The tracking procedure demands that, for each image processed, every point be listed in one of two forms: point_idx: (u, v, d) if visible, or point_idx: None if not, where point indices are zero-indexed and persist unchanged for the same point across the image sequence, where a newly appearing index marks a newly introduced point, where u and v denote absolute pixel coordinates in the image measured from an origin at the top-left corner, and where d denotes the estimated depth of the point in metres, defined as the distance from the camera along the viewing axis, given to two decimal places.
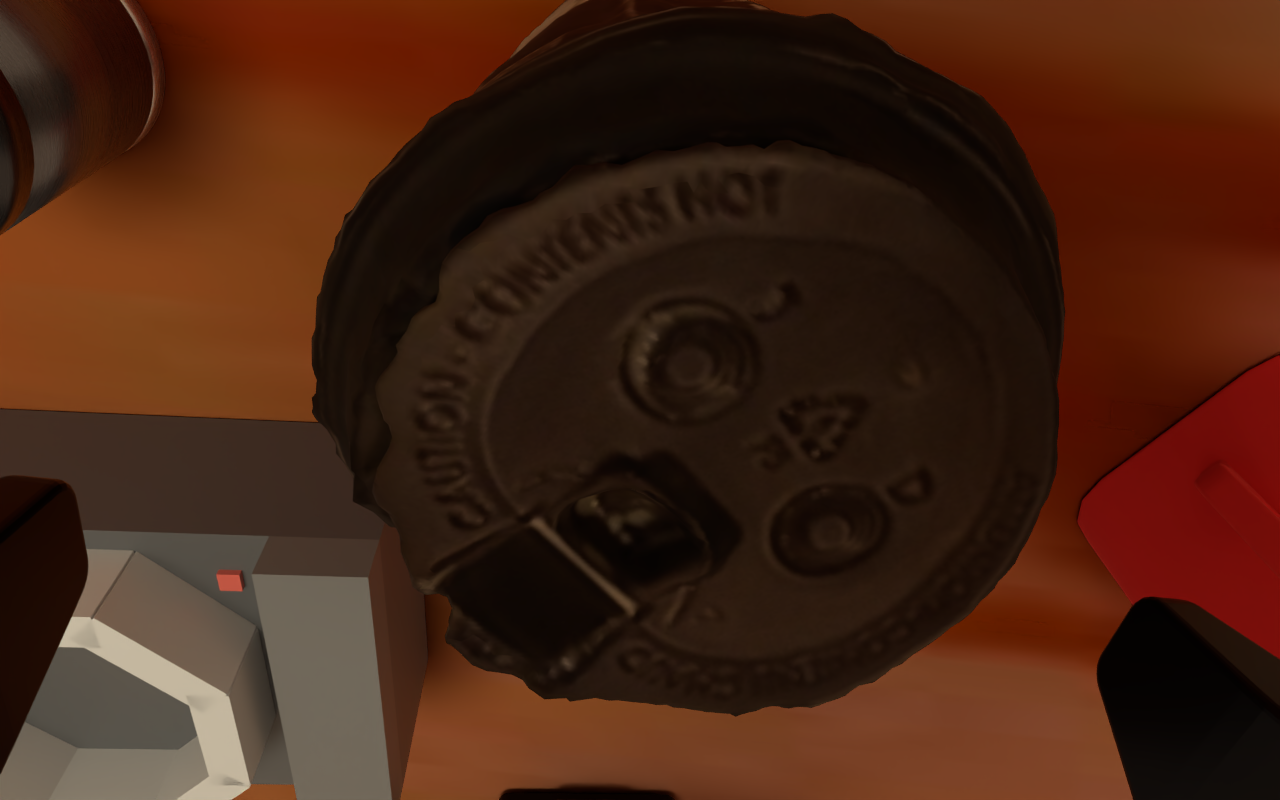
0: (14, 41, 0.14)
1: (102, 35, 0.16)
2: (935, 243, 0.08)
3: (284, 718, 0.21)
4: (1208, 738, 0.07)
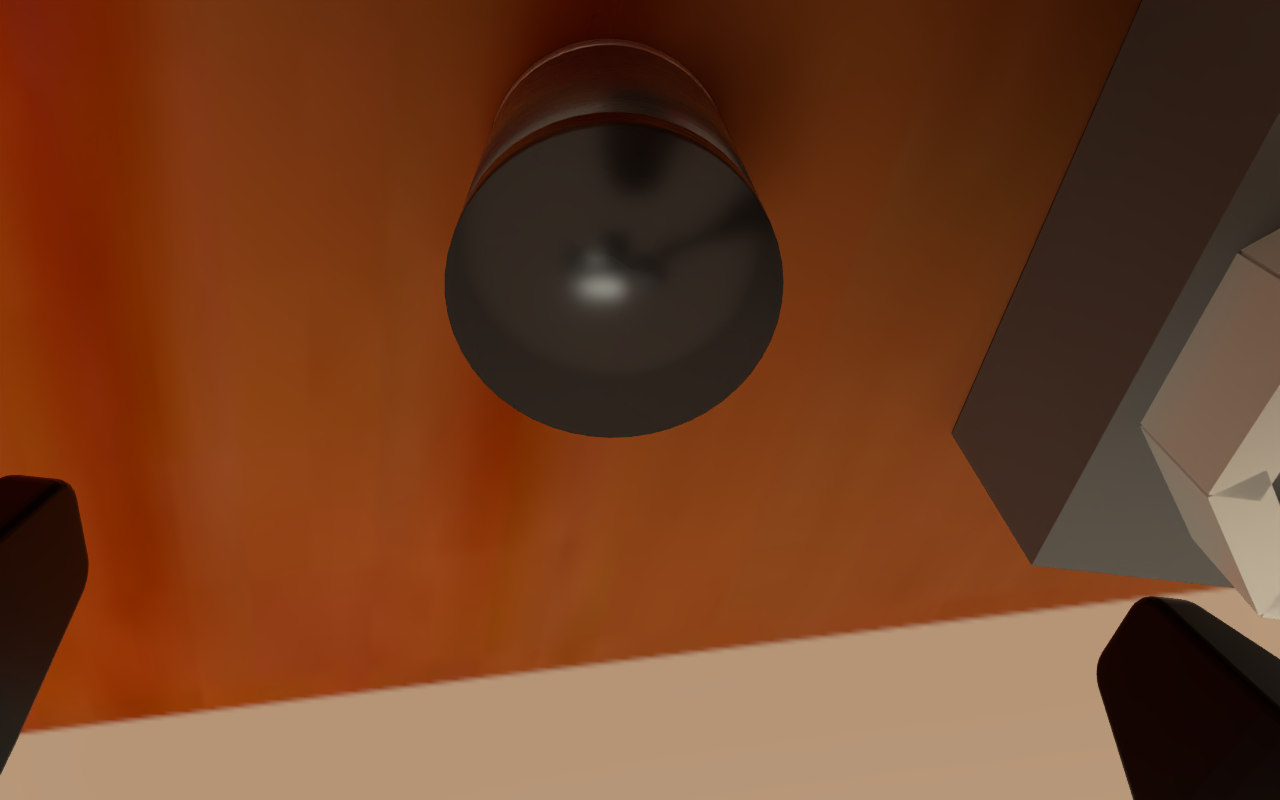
0: (555, 107, 0.12)
1: (582, 63, 0.14)
2: None
3: None
4: (1208, 738, 0.07)
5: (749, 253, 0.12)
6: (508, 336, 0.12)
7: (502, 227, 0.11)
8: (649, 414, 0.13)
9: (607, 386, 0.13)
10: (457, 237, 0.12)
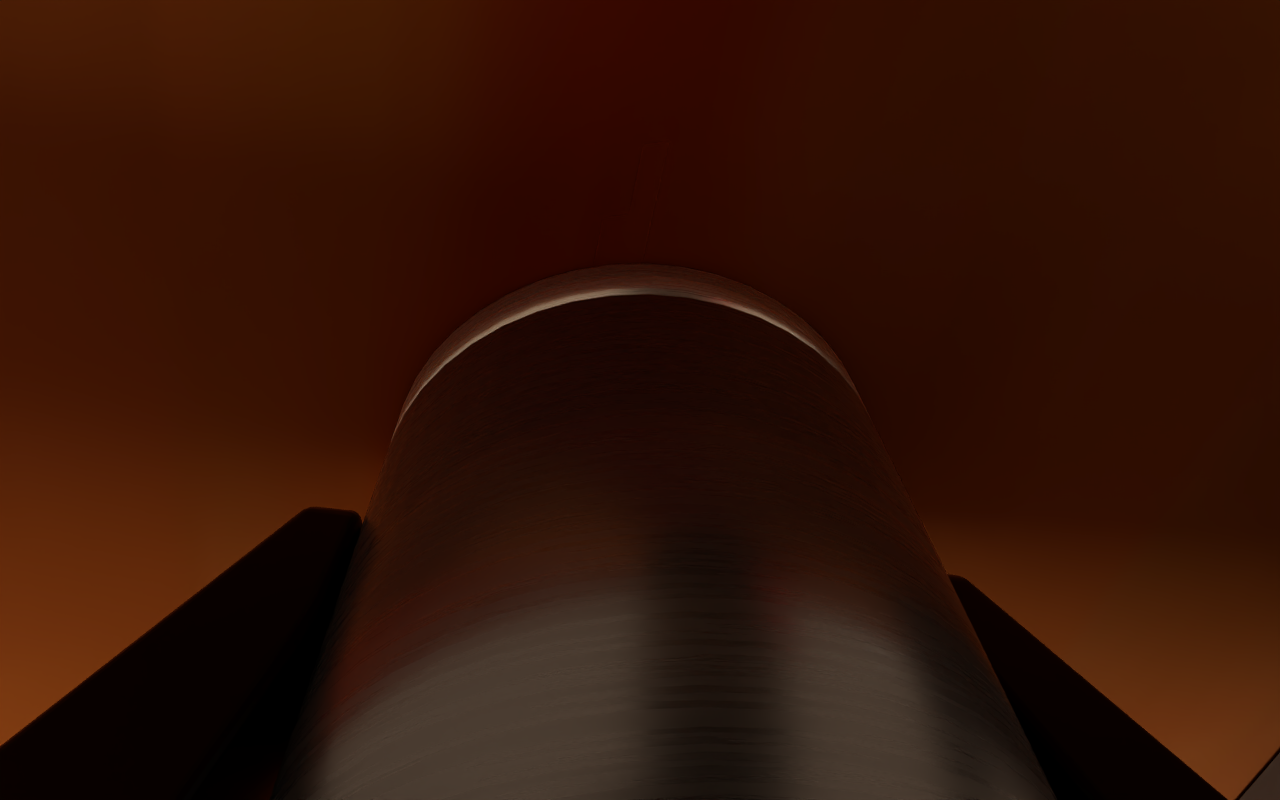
0: (489, 720, 0.04)
1: (580, 390, 0.06)
2: None
3: None
4: None
5: None
6: None
7: None
8: None
9: None
10: None
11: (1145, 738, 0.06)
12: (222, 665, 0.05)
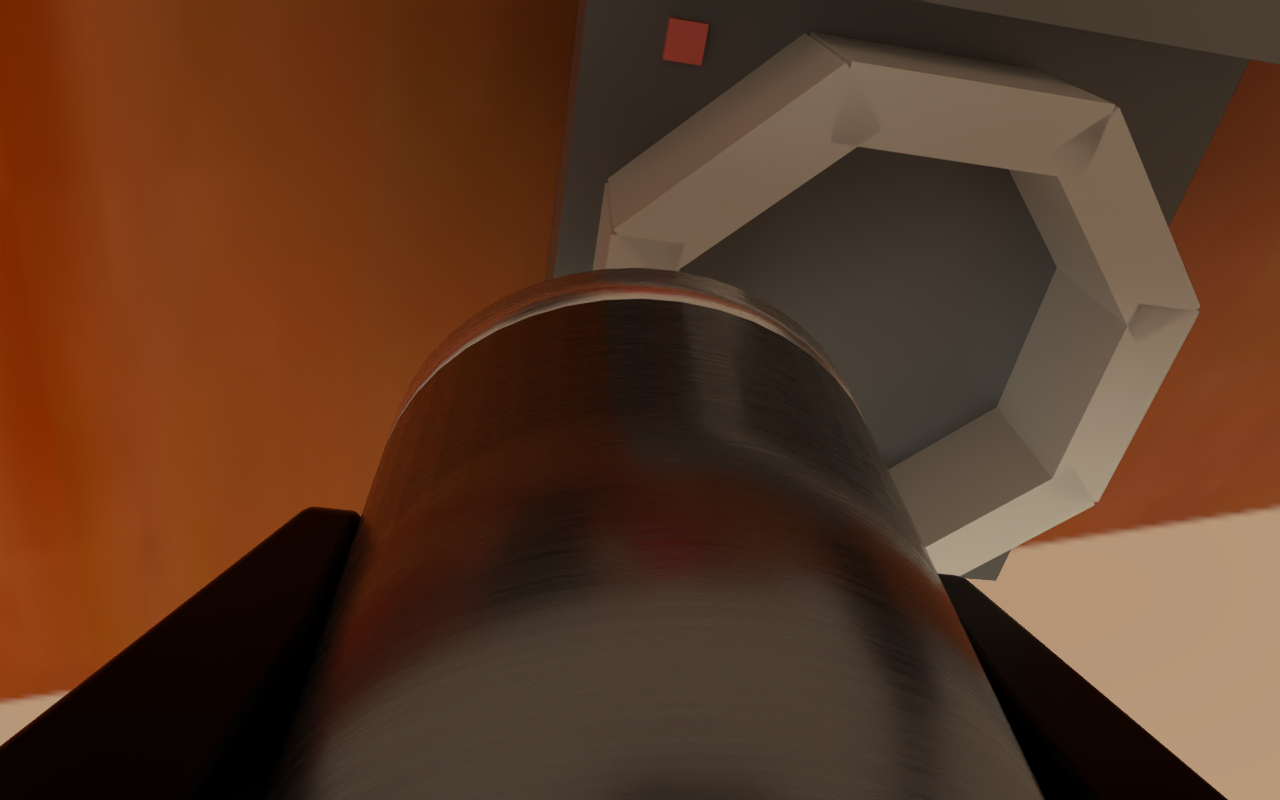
0: (477, 724, 0.04)
1: (573, 395, 0.06)
2: None
3: (995, 6, 0.10)
4: None
5: None
6: None
7: None
8: None
9: None
10: None
11: (1145, 738, 0.06)
12: (222, 665, 0.05)
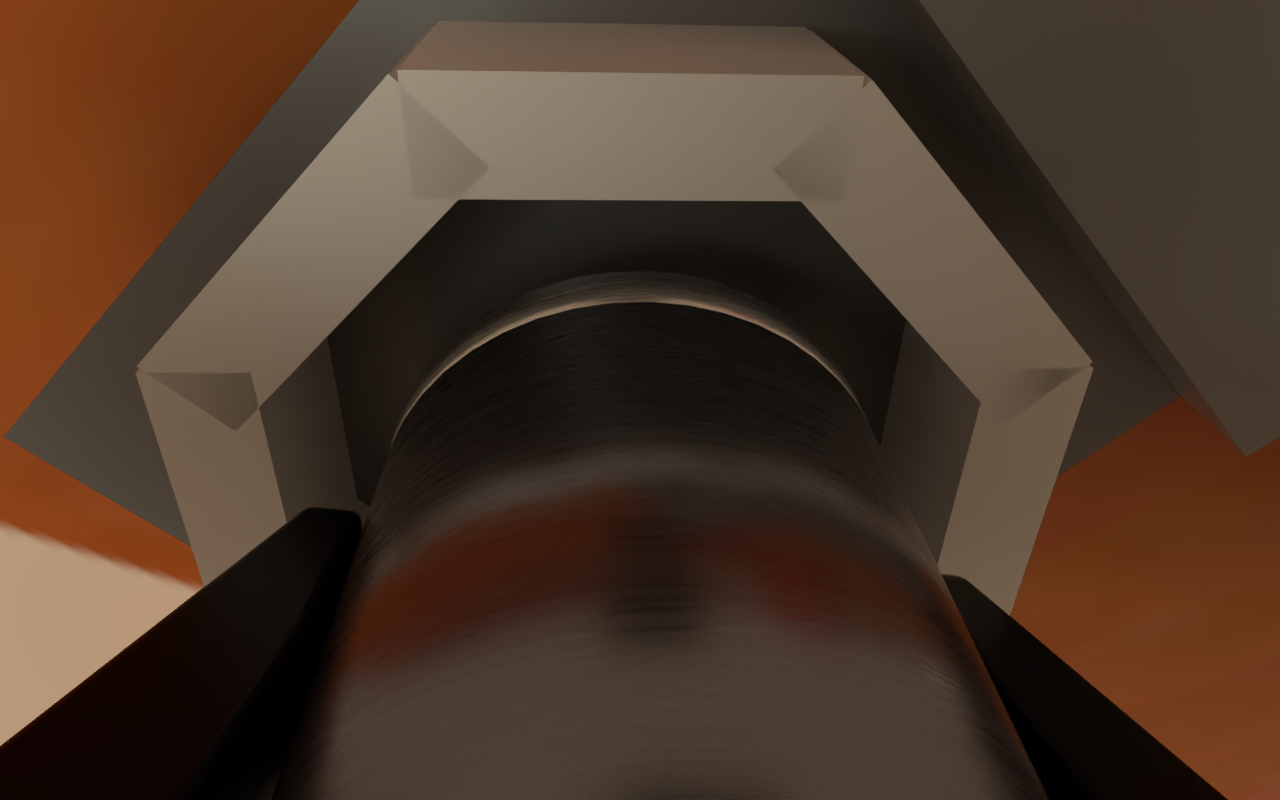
0: (489, 733, 0.04)
1: (581, 398, 0.06)
2: None
3: (1042, 153, 0.07)
4: None
5: None
6: None
7: None
8: None
9: None
10: None
11: (1145, 737, 0.06)
12: (222, 665, 0.05)
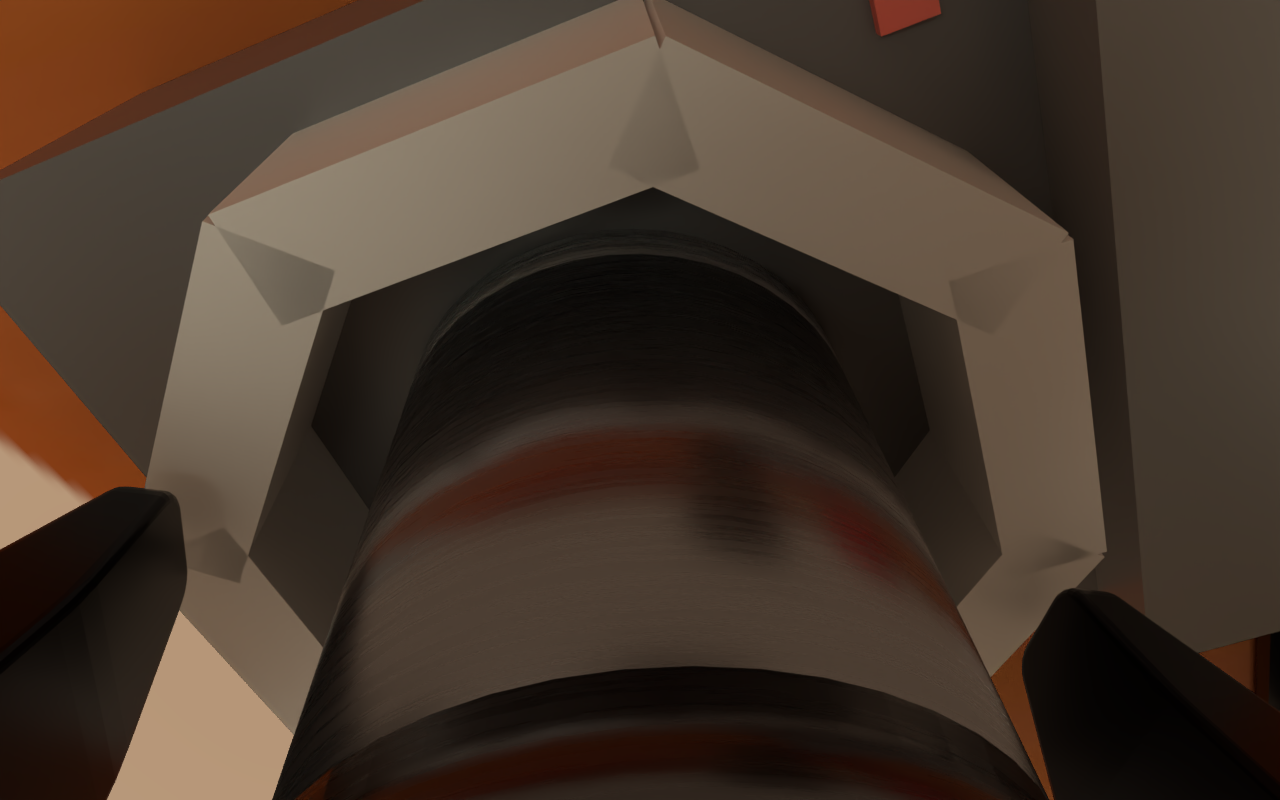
0: (507, 571, 0.05)
1: (580, 330, 0.07)
2: None
3: (1133, 352, 0.08)
4: (1119, 731, 0.07)
5: None
6: None
7: None
8: None
9: None
10: None
11: None
12: None
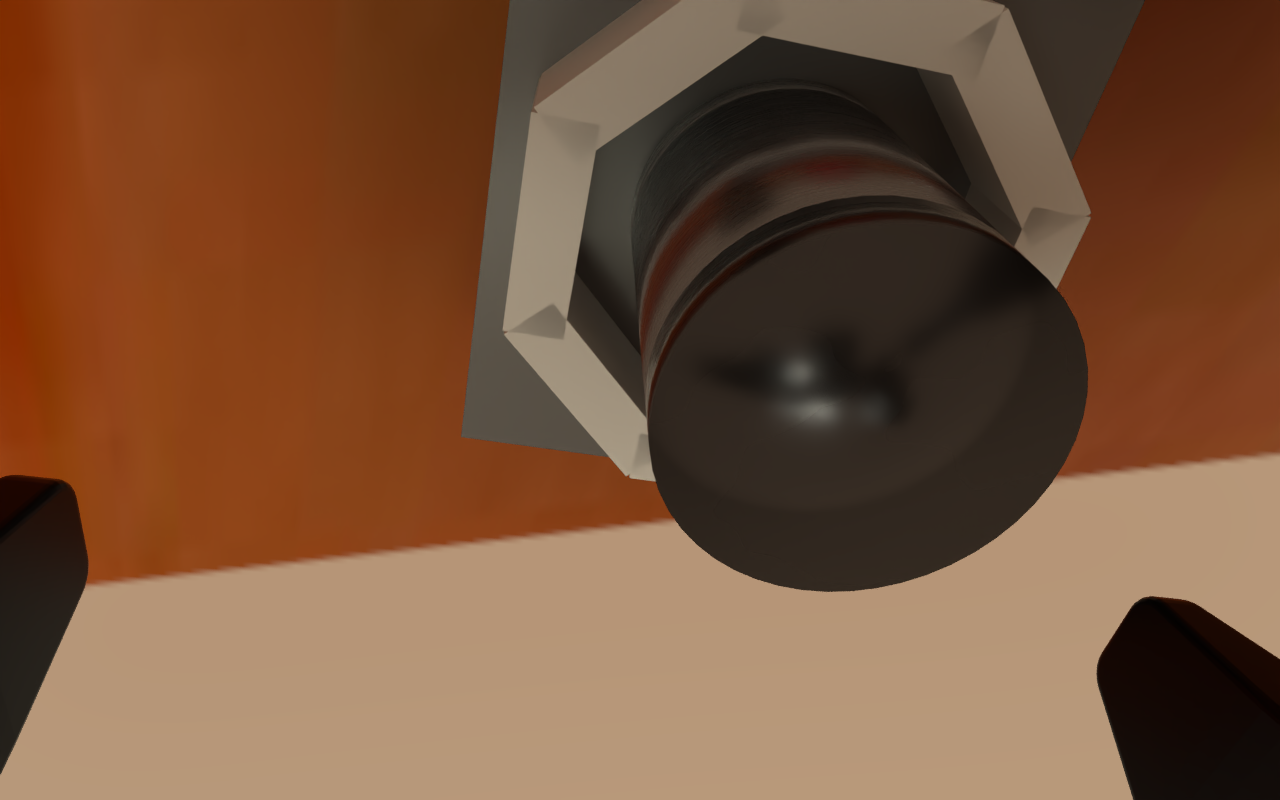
0: (646, 327, 0.10)
1: (646, 222, 0.12)
2: None
3: None
4: (1208, 738, 0.07)
5: (935, 267, 0.08)
6: (821, 545, 0.10)
7: (708, 488, 0.10)
8: (1027, 471, 0.10)
9: (957, 493, 0.10)
10: (688, 529, 0.10)
11: None
12: None
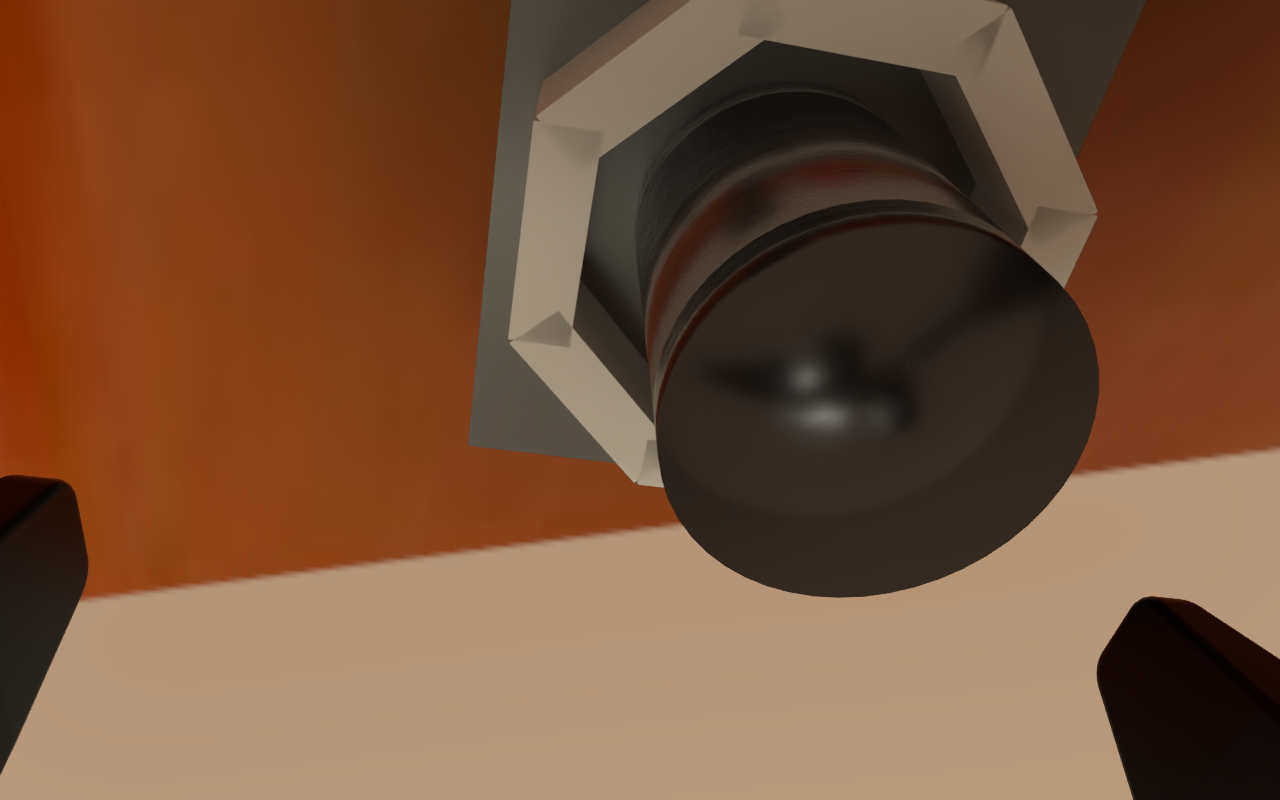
0: (653, 335, 0.10)
1: (650, 228, 0.12)
2: None
3: None
4: (1208, 737, 0.07)
5: (943, 272, 0.08)
6: (832, 551, 0.10)
7: (719, 495, 0.10)
8: (1039, 474, 0.10)
9: (968, 496, 0.10)
10: (698, 537, 0.10)
11: None
12: None
